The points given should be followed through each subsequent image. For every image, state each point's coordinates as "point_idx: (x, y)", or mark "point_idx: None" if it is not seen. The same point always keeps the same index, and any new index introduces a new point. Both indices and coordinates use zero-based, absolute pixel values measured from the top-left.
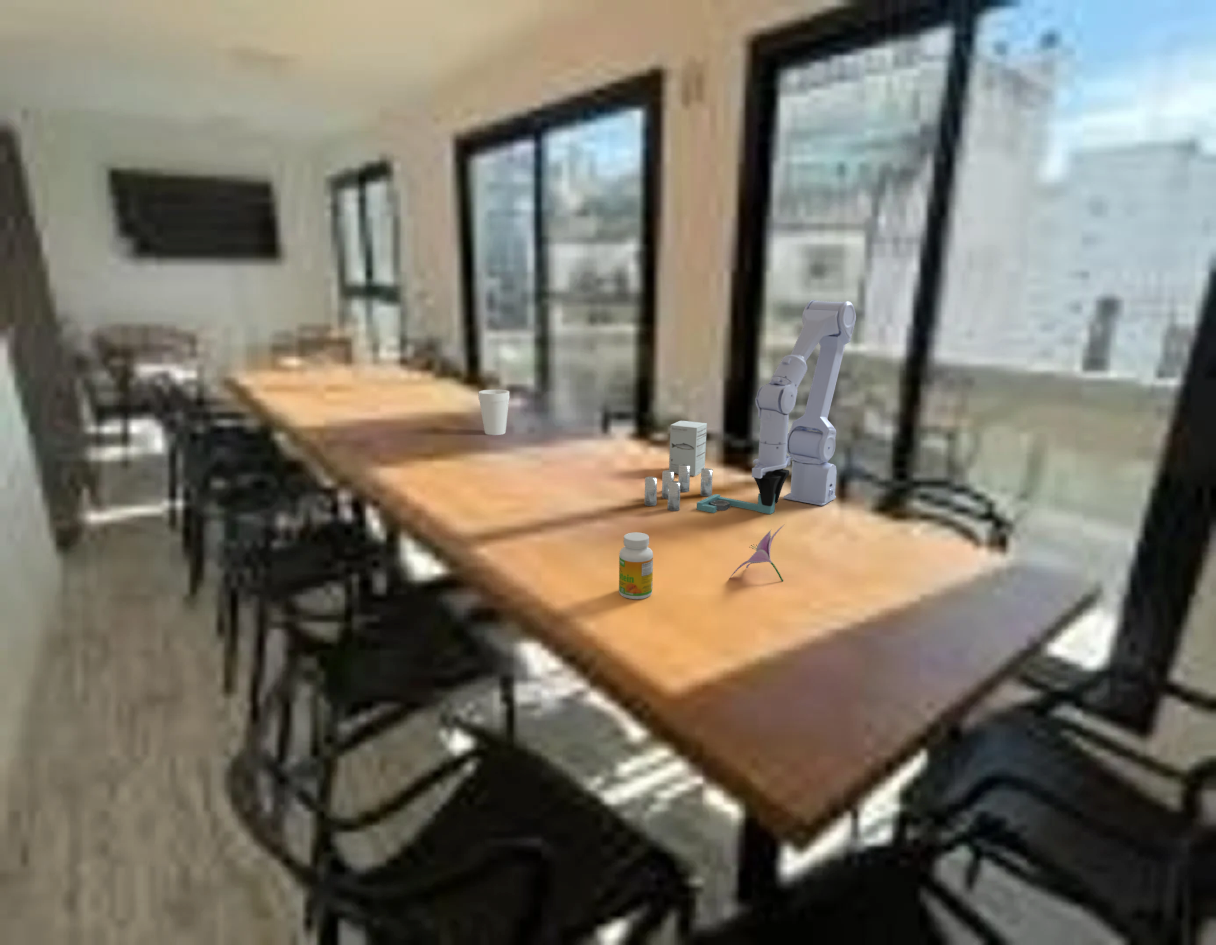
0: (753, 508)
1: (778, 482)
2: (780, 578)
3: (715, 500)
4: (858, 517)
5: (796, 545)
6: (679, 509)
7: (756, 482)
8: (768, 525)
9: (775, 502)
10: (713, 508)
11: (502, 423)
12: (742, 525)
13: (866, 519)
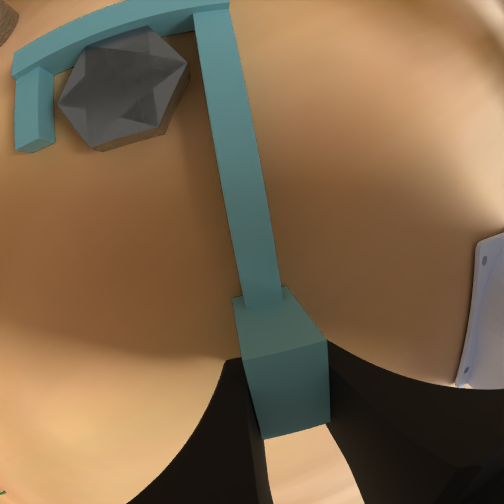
0: (237, 267)
1: (366, 492)
2: (1, 492)
3: (141, 36)
4: None
5: (91, 501)
6: (1, 43)
7: (149, 485)
8: (118, 429)
9: None
10: (17, 150)
11: None
12: (32, 364)
13: None
